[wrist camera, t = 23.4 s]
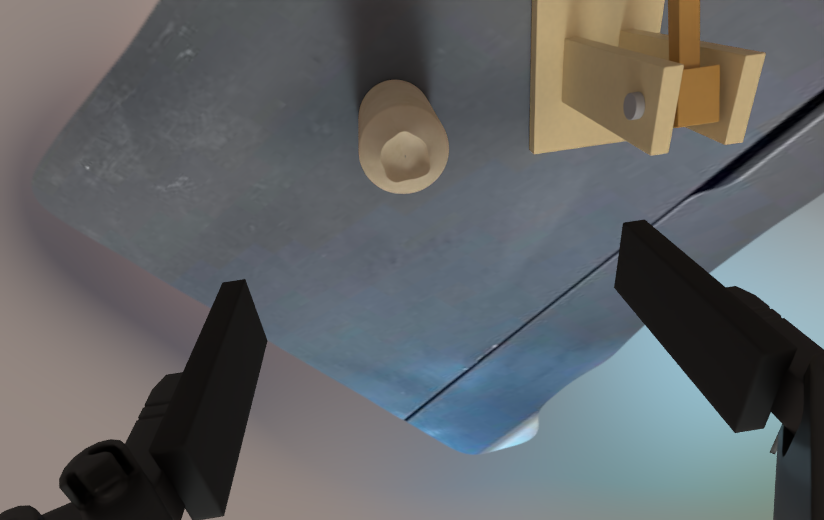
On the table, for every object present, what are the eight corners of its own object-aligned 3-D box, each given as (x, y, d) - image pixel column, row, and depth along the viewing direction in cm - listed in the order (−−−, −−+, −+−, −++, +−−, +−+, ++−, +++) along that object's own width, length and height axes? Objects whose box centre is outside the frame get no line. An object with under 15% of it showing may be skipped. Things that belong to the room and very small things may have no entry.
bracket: (532, -21, 32) (633, -21, 20) (660, -39, 32) (835, -48, 20) (529, 149, 38) (605, 226, 26) (636, 134, 38) (760, 202, 27)
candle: (445, 107, 36) (472, 147, 27) (403, 164, 38) (416, 219, 29) (385, 62, 34) (394, 91, 25) (344, 126, 36) (340, 172, 27)
